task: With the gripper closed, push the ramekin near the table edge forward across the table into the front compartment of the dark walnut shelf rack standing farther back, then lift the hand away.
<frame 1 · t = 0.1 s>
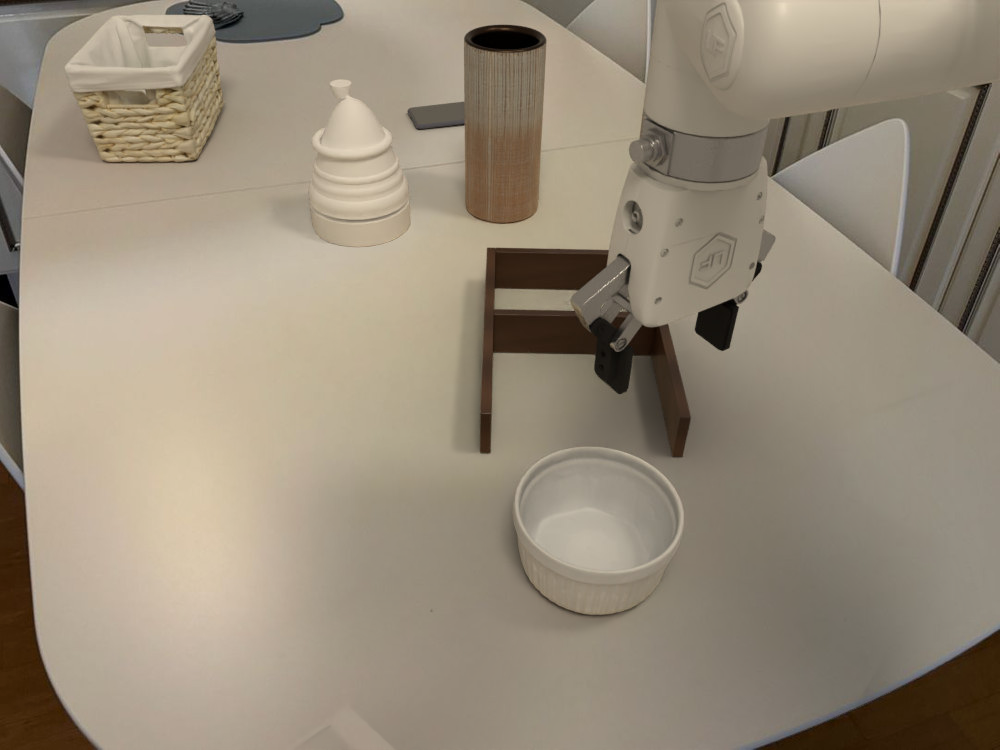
hand: (662, 361, 63), 17 cm above the table, tool pointing down, fingers open, 9 cm apart
honey pot: (362, 223, 113), on the table
rack: (571, 348, 93), on the table
ramekin: (590, 563, 70), on the table
smartphone: (456, 117, 141), on the table
planter: (501, 207, 117), on the table
basket: (165, 135, 134), on the table
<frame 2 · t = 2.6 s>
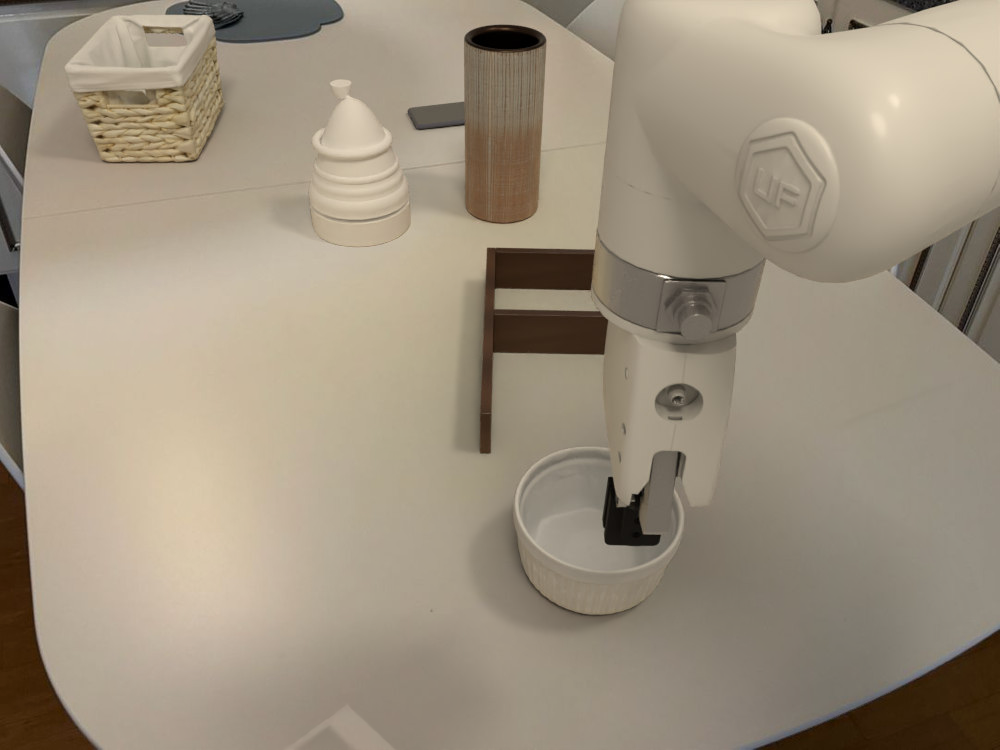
hand: (629, 534, 50), 17 cm above the table, tool pointing down, fingers closed
nothing on the table moved.
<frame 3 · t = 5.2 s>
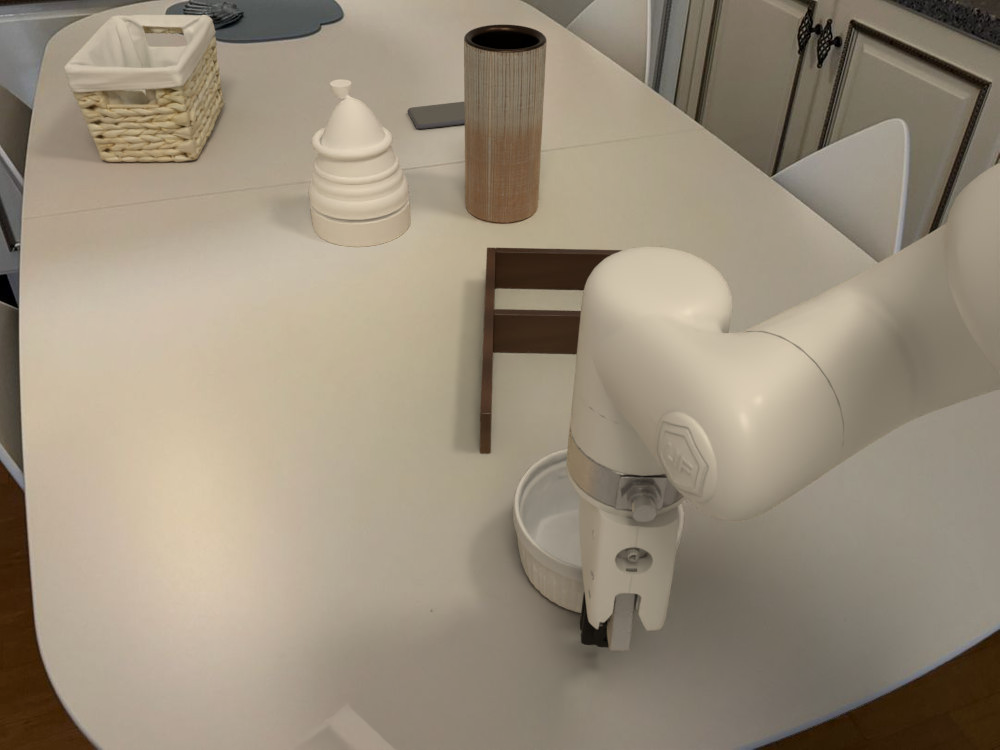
hand: (602, 635, 61), 3 cm above the table, tool pointing down, fingers closed
ramekin: (590, 563, 70), on the table, touching gripper
everything else where it was.
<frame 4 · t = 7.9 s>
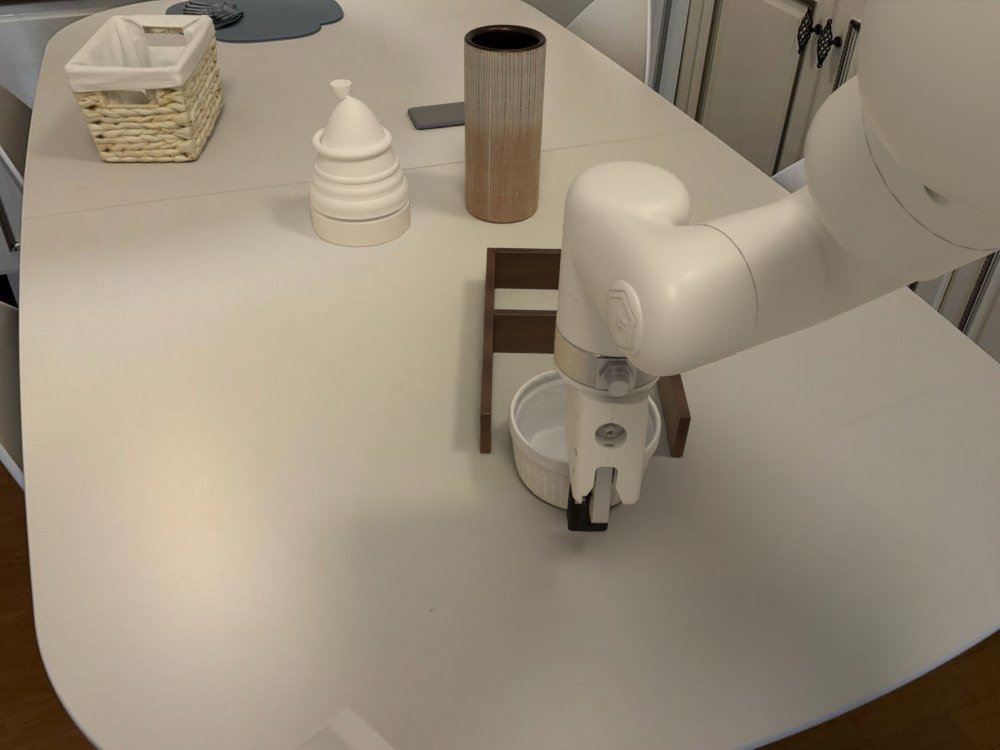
hand: (586, 523, 70), 3 cm above the table, tool pointing down, fingers closed
ramekin: (578, 471, 78), on the table, touching gripper
everything else where it was.
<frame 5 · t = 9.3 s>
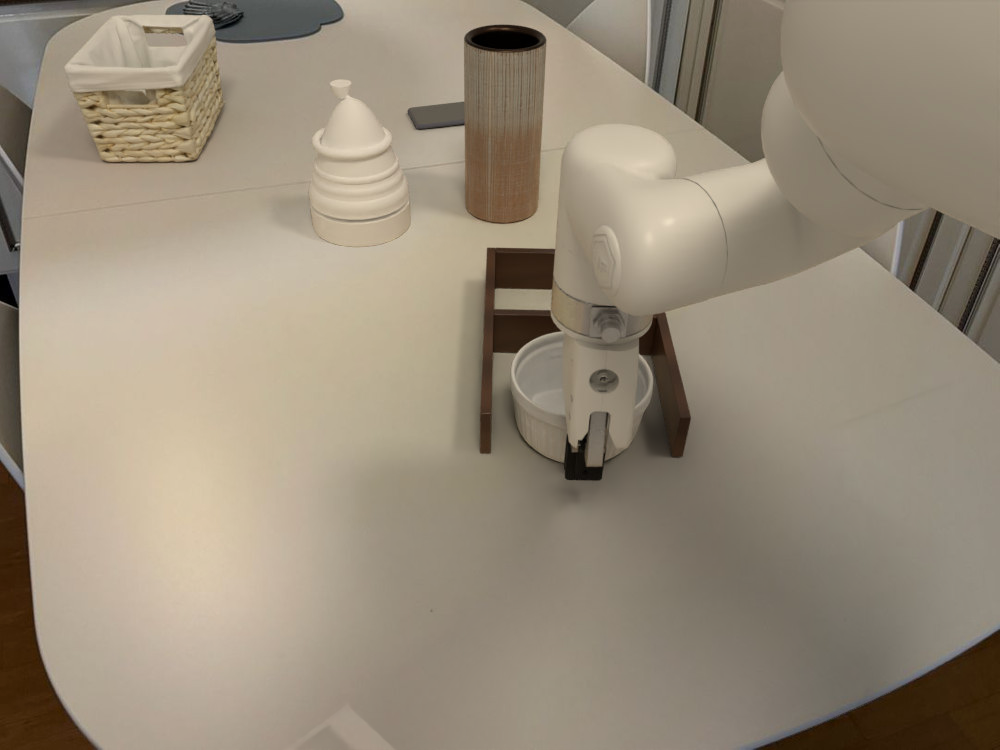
hand: (582, 473, 74), 3 cm above the table, tool pointing down, fingers closed
ramekin: (575, 429, 83), on the table, touching gripper
everything else where it was.
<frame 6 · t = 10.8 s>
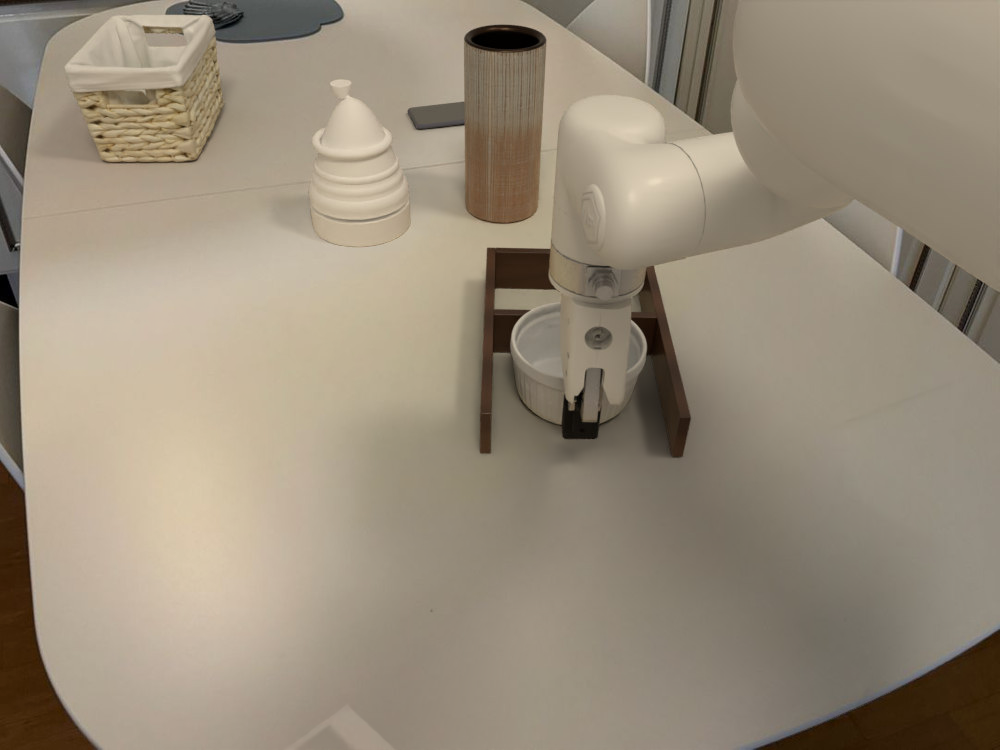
hand: (579, 432, 78), 3 cm above the table, tool pointing down, fingers closed
ramekin: (573, 394, 87), on the table, touching gripper
everything else where it was.
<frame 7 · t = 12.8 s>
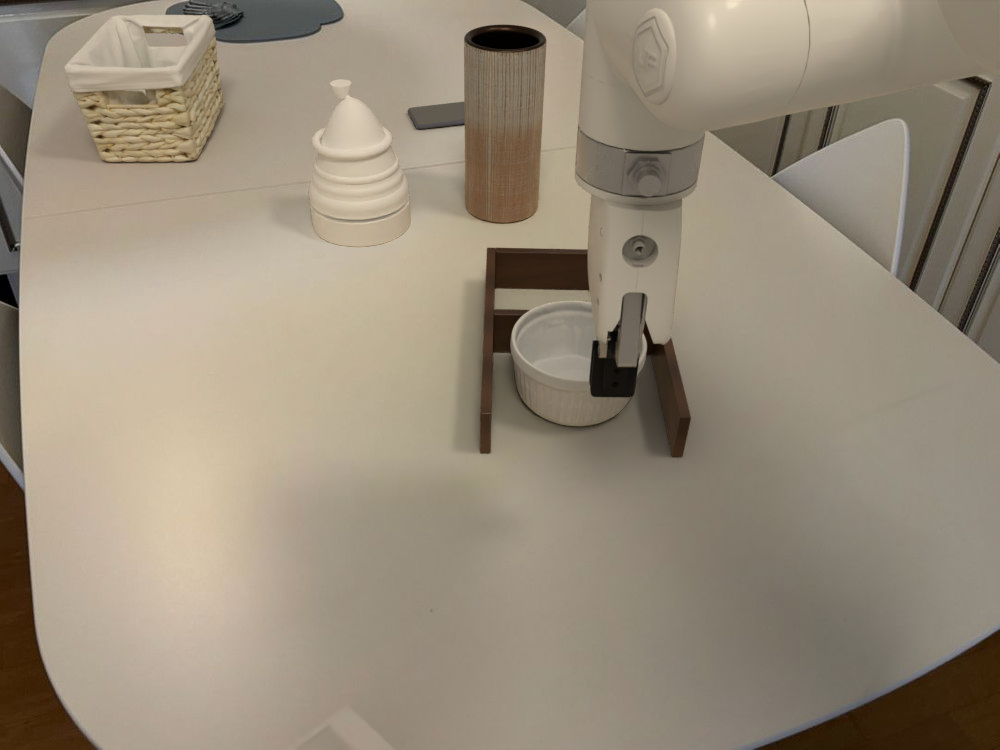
hand: (611, 390, 63), 16 cm above the table, tool pointing down, fingers closed
ramekin: (573, 394, 87), on the table
everything else where it was.
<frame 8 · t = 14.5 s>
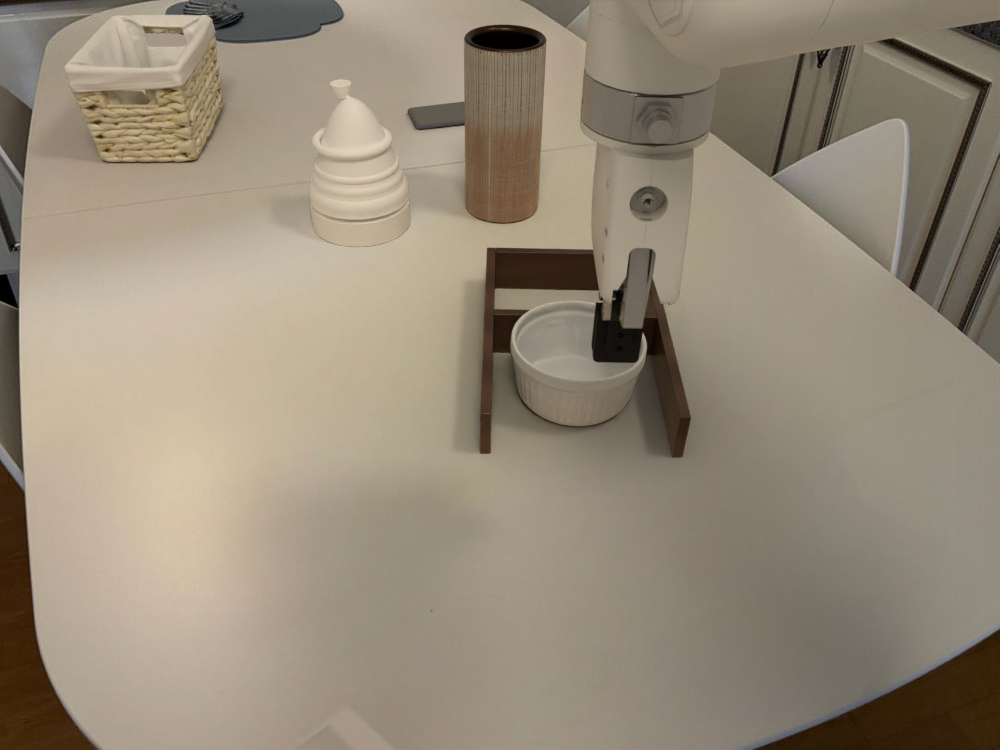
hand: (614, 355, 61), 19 cm above the table, tool pointing down, fingers closed
nothing on the table moved.
at the end: ramekin 2.0 cm from the target spot on the rack, point 0.0 cm above the rack's base; ramekin moved 21.5 cm from its start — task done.
